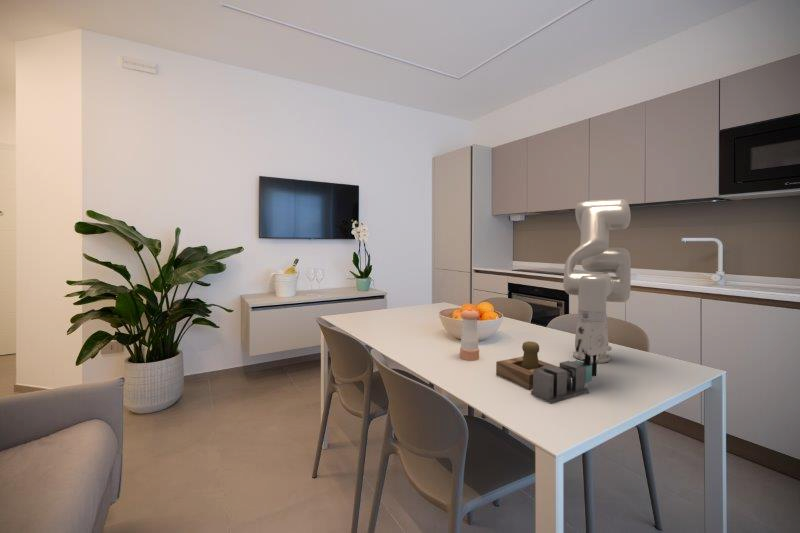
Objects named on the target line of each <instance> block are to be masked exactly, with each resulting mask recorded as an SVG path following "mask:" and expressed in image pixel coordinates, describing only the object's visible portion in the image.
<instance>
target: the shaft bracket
mask: <svg viewBox="0 0 800 533" xmlns="http://www.w3.org/2000/svg"><path fill="white" fill-rule="evenodd" d="M558 364H559V365H558V367H559V368H558V367H555V366H556V365H555V366H552V365H553V364H552V365H547V366H543V367H541V370H539V369H535V370H533V389H531V390H530V395H531V396H534V397H535V398H538V399H540V400H542V401H544V402H546V403H549V404H552V405H553V404H555V403H558V402H561V401H565V400H569V399H572V398H574V397H575V398H576V397H579V396H581V395H585V394H590V389H589V388H587V387H586V386H585V385H586V383H585V366H583V365H580V364H577V363H574V362H572V361H570V360H566V361H562V362H559V363H558ZM567 370H570V371H572V378H571V379H567Z"/></svg>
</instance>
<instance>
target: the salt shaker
mask: <svg viewBox="0 0 800 533" xmlns="http://www.w3.org/2000/svg"><path fill="white" fill-rule="evenodd" d="M460 318H461V319H462V331H461V338H460V348H459V358H460V359H462V360H465V361H478V360H479V359H480V348H479V335H478V334H479V333H478V320H479V318H480V313H479V312H478V310H477V311H476V310H474V309H473V308H471V307H469V308H467V309H465V310H463V311H461V313H460Z"/></svg>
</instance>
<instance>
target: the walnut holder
mask: <svg viewBox="0 0 800 533" xmlns="http://www.w3.org/2000/svg"><path fill="white" fill-rule="evenodd" d="M522 362H523V356H519V357H518V356H517V357H513V358H509V359H504V360H503V359H502V360H498V361H496V365H495V366H496V368H495V371H496V372H495V375H496V376H498V377H499V378H502V379H504V380H506V381H509V382H510V383H513V384H515V385H517V386H520V387H522V388H524V389H527V390H528V391H532V390H533V370H535V369H531V370H527V369H525V368H522ZM538 363H539V368H536V369H539V370H541V367H543V366H547V365H552V366H555V367H558V368H559V365H554V364H552V363H549V362H546V361H543V360H540V359H538Z"/></svg>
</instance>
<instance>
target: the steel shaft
mask: <svg viewBox="0 0 800 533" xmlns="http://www.w3.org/2000/svg"><path fill="white" fill-rule="evenodd" d="M571 362H574V363H577V364H580V365H583V366H585V384H588V383H591V382H592V381H593V380H592V379H593V377H592V365H590V364H587V363H584V362H583V361H582V360H579V359H577V360H572V361H571ZM567 379H571V380H572V371H570V370H567Z"/></svg>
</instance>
